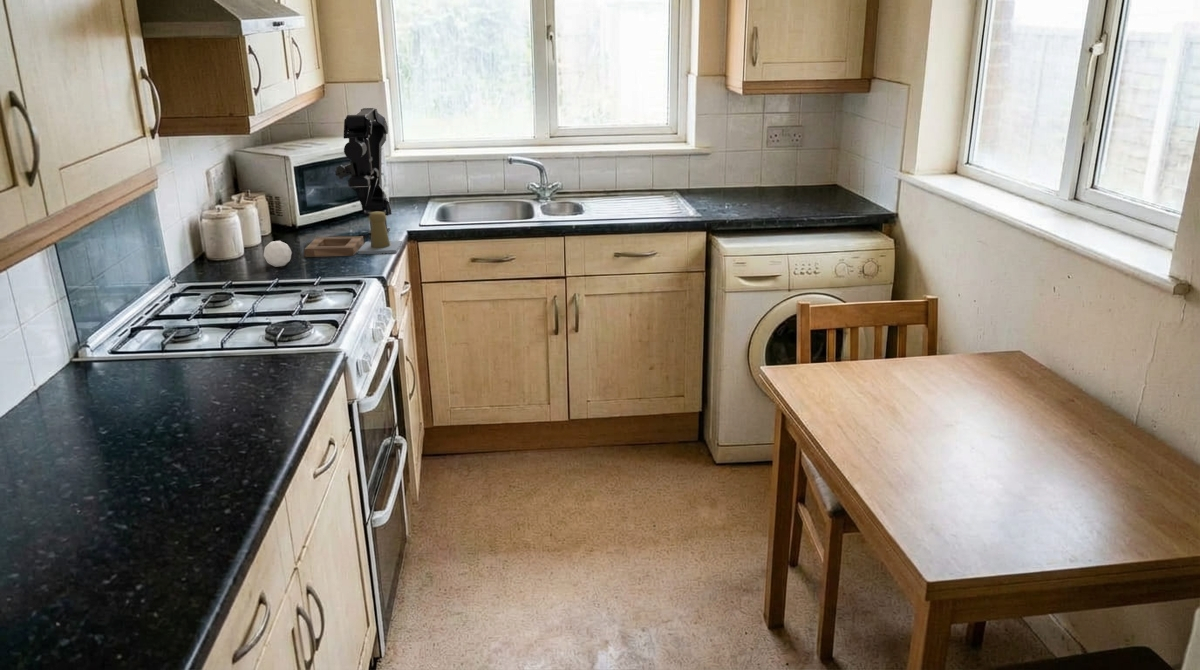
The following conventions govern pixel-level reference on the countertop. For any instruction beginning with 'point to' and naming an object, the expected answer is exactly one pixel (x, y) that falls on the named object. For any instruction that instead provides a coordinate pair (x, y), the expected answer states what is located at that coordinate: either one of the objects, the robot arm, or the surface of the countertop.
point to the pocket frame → (334, 246)
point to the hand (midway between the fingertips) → (366, 203)
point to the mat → (392, 248)
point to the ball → (277, 253)
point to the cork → (378, 230)
